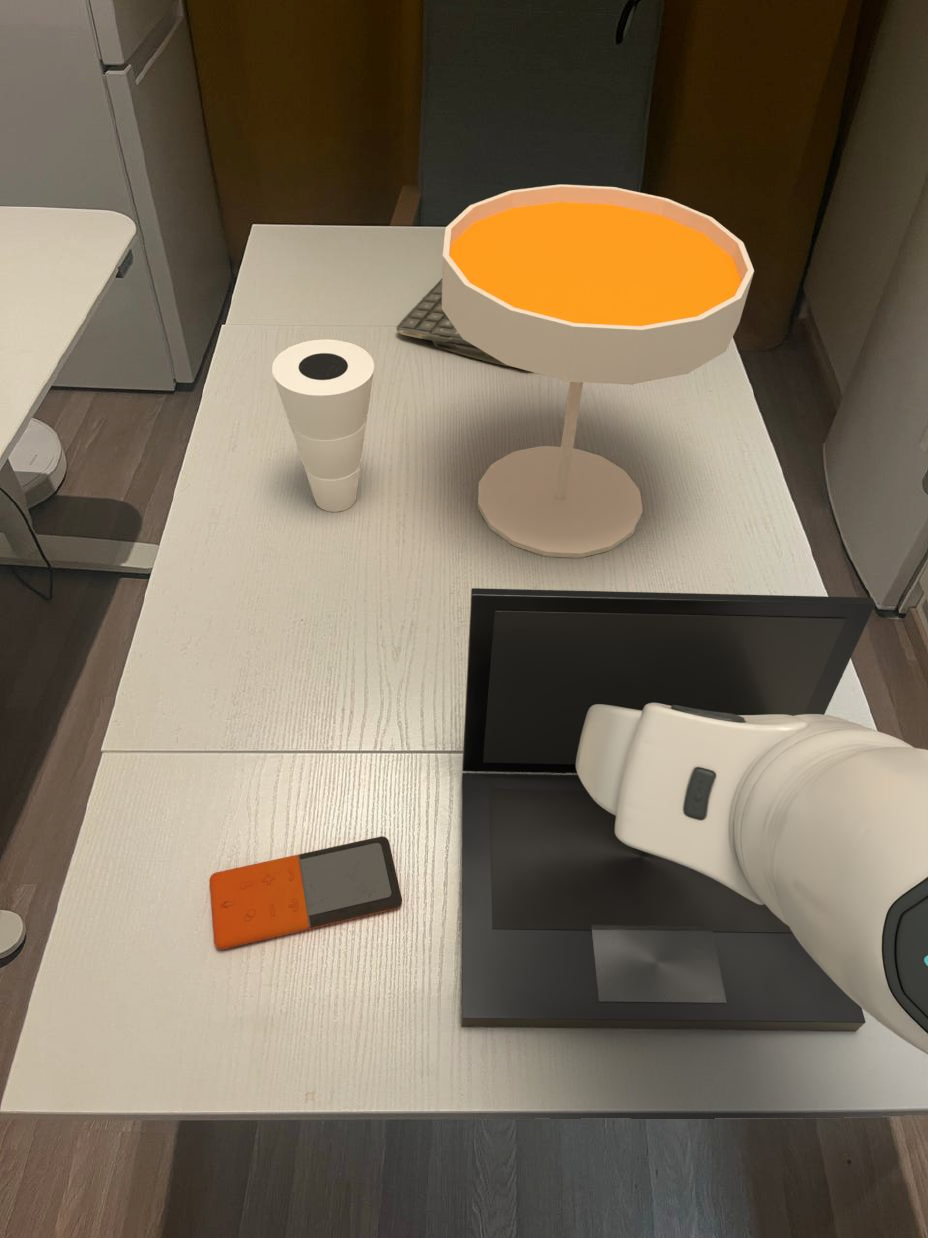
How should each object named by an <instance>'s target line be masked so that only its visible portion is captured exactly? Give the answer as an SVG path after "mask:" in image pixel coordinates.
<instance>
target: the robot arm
mask: <svg viewBox="0 0 928 1238" xmlns="http://www.w3.org/2000/svg"><path fill="white" fill-rule="evenodd" d="M576 771H577V773H576V775H578V776H579V778H580V780H581V782H582V784H583V785H584V787H585V788H586V790H587V791H588V793H589V794H590V796H591V797H592V798H593V799H594V801H595V802H596V803H597V804H599V805H600V806H601V807H602V808H604V809H605V810H607V811H608V812H610V813H612V814H613V815H615V816H616V820H615V835H616V836H617V838H618V839H619V840H620V841H621V842H623V843H624V844H626V845H628V846H630V847H633V848H635V849H638V850H641V851H644V852H646V853H648V854H650V855H652V856H655V857H658V858H661V859H664V860H667V861H669V862H672V863H675V864H677V865H680V866H682V867H685V868H687V869H690V870H692V871H695V872H698V873H701V874H704V875H706V876H708V877H710V878H713V879H714V880H716V881H718V882H720V883H722V884H724V885H725V886H727V887H729V888H731V889H732V890H734V891H735V892H737V893H739V894H740V895H742V896H744V897H746V898H747V899H749V900H751V901H753V902H754V903H757V904H759V905H764V904H765V905H766V906H767V907H768V908H769V909H770V910H771V912H772V913H774V914H775V915H776V916H777V917H778V918H779V919H780V920H781V921H782V922H784V923H785V924H786V925H788V926H789V927H790V929H791V931H792V932H793V934H794V935H795V937H796V938H797V940H798V941H799V943H800V944H801V945H802V947H803V948H804V949H805V950H806V952H807V953H808V954H809V955H810V956H811V957H812V959H813V960H814V961H815V962H816V963H817V964H818V965H819V966H820V967H821V968H822V970H823V971H824V972H825V973H826V974H827V975H828V976H829V977H830V978H831V979H832V980H833V981H834V982H835V983H836V984H837V985H838V986H839V987H840V988H841V989H842V990H843V991H844V992H845V993H846V994H847V995H848V996H849V997H850V998H851V999H852V1000H853V1001H854V1002H856V1003H857V1004H858V1005H859V1006H860V1007H861V1008H862V1010H864V1011H865V1012H866V1013H867V1014H868V1015H870V1016H871V1017H872V1018H873V1019H875V1020H876V1021H877V1022H878V1023H880V1024H881V1026H883V1027H885V1028H886V1029H888V1030H889V1031H890V1032H892V1033H893V1034H894V1035H896V1036H898V1037H899V1038H900V1039H901V1040H903V1041H905V1042H906V1043H908V1044H909V1045H911V1046H913V1047H915V1048H916V1049H918V1050H919V1051H921V1052H923V1053H924V1054H926V1055H928V749H926V748H925V749H924V748H918V747H914V746H913V745H911V744H909V743H907V742H906V741H903V740H902V739H900V738H897V737H895V736H893V735H890V734H887V733H884V732H881V731H878V730H876V729H873V728H870V727H868V726H864V725H862V724H858V723H856V722H852V721H850V720H847V719H845V718H841V717H838V716H833V715H830V714H824V715H821V714H803V715H795V716H791V715H784V714H769V715H735V714H731V713H722V712H713V711H705V710H699V709H693V708H688V707H683V706H678V705H672V706H669V705H664V704H660V703H649V704H646V705H645V706H644V708H643V711H641V710H635V709H629V708H623V707H617V706H611V705H603V704H596V705H593V706H591V707H590V708H589V710H588V712H587V715H586V719H585V722H584V726H583V730H582V733H581V738H580V742H579V747H578V752H577V758H576Z"/></svg>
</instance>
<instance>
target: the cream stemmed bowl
mask: <svg viewBox="0 0 928 1238" xmlns="http://www.w3.org/2000/svg"><path fill="white" fill-rule="evenodd" d="M444 228H445V230H444V231H445V232H444V238H443V239H444V240H443V248H442V250H443V251H442V273H441V274H442V275H441V279H442V310H443V311H444V313H445V314H446V315H447V317H448V318H449V320H450V321H451V323H452V324H453V326H454V327H455V328H456V330H457V331H458V333H459V334H460V336H461V337H462V339H464V340H466V341H467V342H469V343H471V344H472V345H474V346H476V347H477V348H479V349H481V350H482V351H484V352H486V353H487V354H489V355H491V356H492V357H494V358H496V359H497V360H499V361H501V362H502V363H504V364H506V365H509V366H508V367H511V366H512V367H511V368H515V367H516V368H515V369H519V370H524V371H527V372H531V373H534V374H538V375H541V376H545V377H549V378H552V379H556V380H559V381H563V382H569V387H568V394H567V402H566V408H565V415H564V423H563V430H562V437H561V444H560V446H551V445H550V446H549V445H539V446H535V447H530V448H524V449H520V450H515V451H512V452H510V453H509V454H507V455H505V456H503V457H502V458H500V459H498V460H496V461H494V462H493V463H491V464H490V466H489V467H488V468H487V470H486V471H485V472H484V474H483V475H482V477H481V478H480V480H479V481H478V489H477V490H478V493H477V509H478V511H479V512H480V514H481V516H482V518H483V519H484V521H485V523H486V524H487V527H488V528H489V530H491V531H492V532H493V533H495V534H496V535H498V536H499V537H500V538H502V539H504V540H505V541H506V542H507V543H509V544H510V545H511V546H513V547H516V548H519V549H522V550H525V551H527V552H531V553H534V554H537V555H540V556H543V557H548V558H549V557H550V558H568V559H569V558H570V559H571V558H572V559H582V558H585V557H590V556H593V555H597V554H601V553H606V552H610V551H612V550H613V549H615V548H616V547H617V546H619V545H620V544H622V543H623V542H625V541H626V540H628V539H629V538H630V537H632V536H633V534H634V533H635V530H636V528H637V526H638V525H639V522H640V520H641V518H642V516H643V505H642V497H641V490H640V489H639V487H638V486H637V484H635V482H634V481H633V479H632V478H631V477H630V476H629V475H628V473H627V472H626V471H625V470H624V469H623V468H621V467H620V466H618V465H616V464H614V463H613V462H611V460H608V459H606V458H605V457H604V456H602V455H598V454H595V453H592V452H588V451H585V450H582V449H578V448H575V447H574V446H575V440H576V439H575V438H576V432H577V425H578V420H579V413H580V406H581V399H582V394H583V387H584V383H588V384H589V383H590V384H613V385H630V386H631V385H636V384H637V385H638V384H641V383H646V382H647V383H648V382H652V381H657V380H661V379H663V380H664V379H667V378H673V377H678V376H684V375H688V374H690V373H692V372H693V371H695V370H697V369H699V368H700V367H702V366H704V365H706V364H707V363H709V362H710V361H712V360H714V359H716V358H717V357H719V356H720V355H722V354H724V353H726V352H727V350H728V348H729V346H730V343H731V341H732V339H733V337H734V335H735V333H736V331H737V329H738V327H739V325H740V322H741V318H742V315H743V311H744V308H745V305H746V301H747V298H748V294H749V291H750V287H751V284H752V280H753V277H754V273H755V269H754V267H753V264H752V261H751V258H750V256H749V253H748V251H747V247H746V245H745V243H744V242H743V241H742V240H741V239H740V238H738V237H737V236H736V235H735V234H734V233H733V232H731V231H730V230H729V229H727V228H726V227H725V226H723V225H722V224H721V223H720V222H719V221H717V220H716V219H715V218H714V217H712V216H710V215H707V214H705V213H703V212H700V211H698V210H695V209H693V208H691V207H689V206H686V205H684V204H681V203H679V202H677V201H674V200H673V199H670V198H667V197H663V196H658V195H653V194H648V193H644V192H639V191H634V190H629V189H624V188H620V187H616V186H601V185H600V186H599V185H583V184H582V185H581V184H562V183H561V184H552V185H543V186H535V187H527V188H519V189H513V190H508V191H505V192H502V193H499V194H497V195H494V196H492V197H489V198H486V199H484V200H480V201H478V202H475V203H472V204H470V205H468V207H466V208H465V209H464V210H463V211H462V212H461V213H459V215H458V216H457V217H456V218H454V219H453V220H452V221H451V222H450V223H449V224H448V225H447V226H446V227H444Z"/></svg>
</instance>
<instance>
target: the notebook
mask: <svg viewBox="0 0 928 1238" xmlns="http://www.w3.org/2000/svg"><path fill="white" fill-rule="evenodd" d="M460 801H461V809H460V810H461V813H460V814H461V815H460V817H461V818H460V819H461V824H460V825H461V827H460V828H461V830H460V832H461V837H460V838H461V842H460V844H461V847H460V848H461V850H460V852H461V855H460V856H461V859H460V860H461V861H460V862H461V863H460V867H461V868H460V871H461V872H460V873H461V874H460V875H461V878H460V880H461V881H460V885H461V886H460V890H461V891H460V897H461V898H460V906H461V907H460V915H461V916H460V918H461V919H460V929H461V930H460V932H461V933H460V942H461V943H460V953H461V954H460V958H461V959H460V973H461V974H460V1027H462V1028H524V1029H525V1028H526V1029H527V1028H530V1029H531V1028H532V1029H535V1028H536V1029H537V1028H538V1029H539V1028H540V1029H542V1028H543V1029H614V1030H615V1029H617V1030H618V1029H620V1030H621V1029H623V1030H624V1029H626V1030H627V1029H629V1030H630V1029H631V1030H714V1031H716V1030H718V1031H721V1030H722V1031H798V1032H800V1031H802V1032H805V1031H808V1032H857V1031H858V1030H859V1029H860V1028H861V1027H862V1026H863V1025H865V1024H866V1018H865V1014H864V1012H863V1009H862V1008H861V1007H860V1006H859V1005H858V1004H857V1003H856V1002H854V1001H853V1000H852V999H851V998H850V997H849V996H848V995H847V994H846V993H845V992H844V991H843V990H842V989H841V988H840V987H839V986H838V985H837V984H836V983H835V982H834V981H833V980H832V979H831V978H830V977H829V976H828V975H827V974H826V973H825V972H824V971H823V970H822V968H821V967H820V966H819V965H818V964H817V963H816V962H815V961H814V960H813V959H812V957H811V956H810V955H809V954H808V953H807V952H806V950H805V949H804V948H803V947H802V945H801V944H800V943H799V941H798V940H797V938H796V937H795V935H794V934H793V932H792V931H791V929H790V927H789V926H788V925H786V924H785V923H784V922H782V921H781V920H780V919H779V918H778V917H777V916H776V915H775V914H774V913H772V912H771V910H770V909H769V908H768V907H767V906H766V905H765V904H764V905H759V904H757V903H754V902H753V901H751V900H749V899H747V898H746V897H744V896H742V895H740V894H739V893H737V892H735V891H734V890H732V889H731V888H729V887H727V886H725V885H724V884H722V883H720V882H718V881H716V880H714V879H713V878H710V877H708V876H706V875H704V874H701V873H698V872H695V871H692V870H690V869H687V868H685V867H682V866H680V865H677V864H675V863H672V862H669V861H667V860H664V859H661V858H658V857H655V856H652V855H650V854H648V853H646V852H644V851H641V850H638V849H635V848H633V847H630V846H628V845H626V844H624V843H623V842H621V841H620V840H619V839H618V838H617V836H616V835H615V820H616V816H615V815H613V814H612V813H610V812H608V811H607V810H605V809H604V808H602V807H601V806H600V805H599V804H597V803H596V802H595V801H594V799H593V798H592V797H591V796H590V794H589V793H588V791H587V790H586V788H585V787H584V785H583V784H582V782H581V780H580V778H579V776H578V774H556V773H501V772H462V773H461V800H460Z"/></svg>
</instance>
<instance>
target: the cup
mask: <svg viewBox="0 0 928 1238" xmlns="http://www.w3.org/2000/svg"><path fill="white" fill-rule="evenodd" d="M374 372H375V362H374V359H373V357H372V356H371V354H370V353H369V352H368V351H366V350H365V349H364V348H362V347H360V346H359V345H356V344H354V343H351V342H348V341H344V340H338V339H312V340H307V341H304V342H300V343H297V344H294V345H291V346H289V347H288V348H285V349H284V350H282V351H281V352H280V353H279V354H278V355H277V356H276V357H275V358H274V360H273V362H272V364H271V373H272V377H273V379H274V383H275V385H276V388H277V391H278V394H279V397H280V400H281V404H282V406H283V410H284V412H285V415H286V418H287V420H288V423H289V427H290V430H291V433H292V436H293V438H294V441H295V444H296V447H297V450H298V453H299V456H300V459H301V462H302V464H303V468H304V471H305V474H306V478H307V480H308V484H309V486H310V489H311V492H312V496H313V498H314V501H315V504H316V505H317V506H318V508H319V509H321V510H323V511H326V512H329V513H331V512H332V513H338V512H343V511H347V510H349V509H350V508H352V506H353V505H354V504H356V500H357V491H358V485H359V484H358V483H359V479H360V470H361V464H362V462H361V460H362V455H363V448H364V442H365V435H366V428H367V423H368V422H367V421H368V414H369V407H370V402H371V394H372V386H373V380H374Z"/></svg>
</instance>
